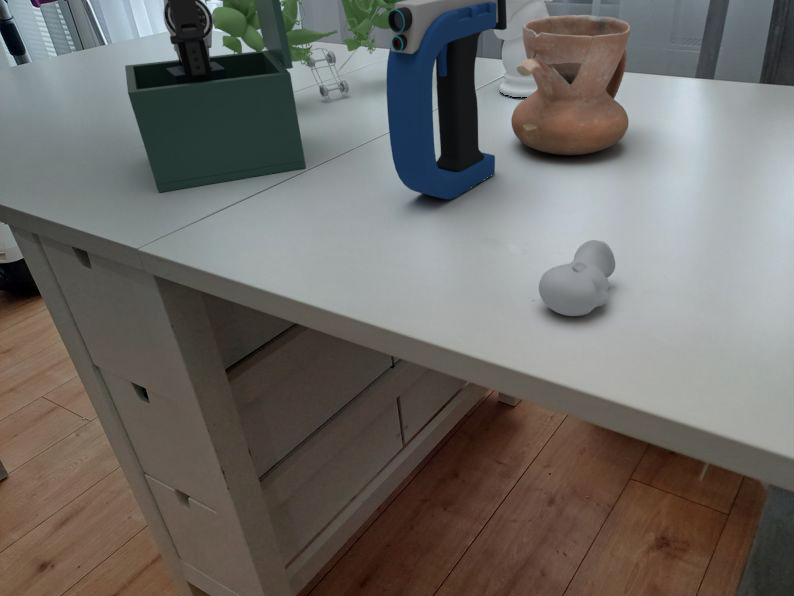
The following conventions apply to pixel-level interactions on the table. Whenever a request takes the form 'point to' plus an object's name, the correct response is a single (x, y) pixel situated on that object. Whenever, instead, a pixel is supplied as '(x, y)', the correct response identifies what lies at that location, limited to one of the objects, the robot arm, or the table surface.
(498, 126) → the table surface
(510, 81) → the cherub figurine
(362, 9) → the plant cuttings
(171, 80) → the watch
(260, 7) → the lid
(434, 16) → the handheld scanner
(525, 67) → the ceramic jug
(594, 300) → the smooth white sculpture
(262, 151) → the dark green hollow box
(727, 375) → the table surface
